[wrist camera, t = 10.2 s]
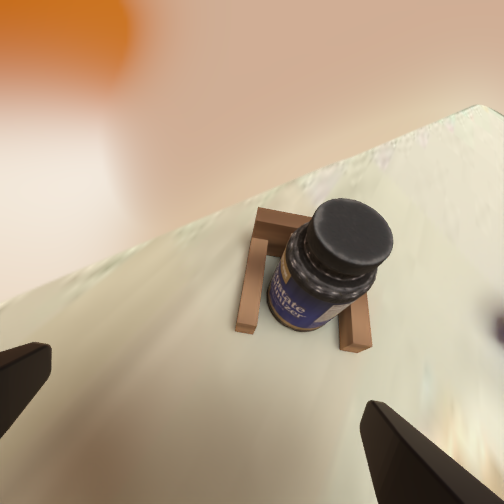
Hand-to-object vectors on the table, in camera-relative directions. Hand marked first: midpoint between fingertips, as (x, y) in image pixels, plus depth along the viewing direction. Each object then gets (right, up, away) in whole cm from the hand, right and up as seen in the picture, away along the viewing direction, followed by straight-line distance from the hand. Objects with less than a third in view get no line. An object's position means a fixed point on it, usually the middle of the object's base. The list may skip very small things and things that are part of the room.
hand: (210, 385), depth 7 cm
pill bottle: (+5, -1, +17) cm, 18 cm away
